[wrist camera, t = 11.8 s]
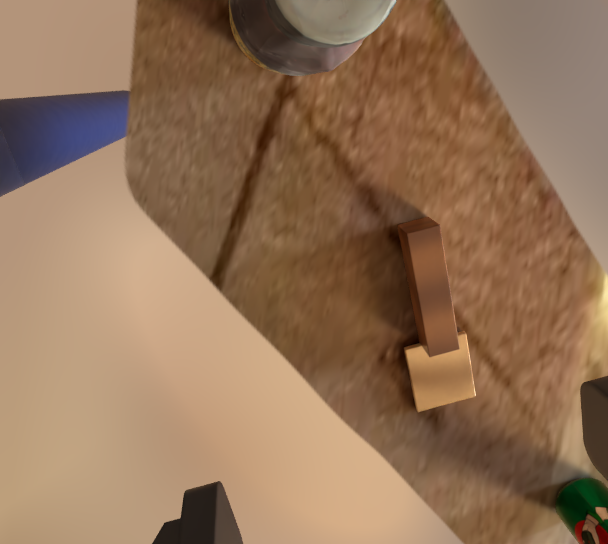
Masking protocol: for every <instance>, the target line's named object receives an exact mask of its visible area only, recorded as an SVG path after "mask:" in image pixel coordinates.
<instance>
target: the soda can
mask: <svg viewBox="0 0 608 544" xmlns="http://www.w3.org/2000/svg"><path fill="white" fill-rule="evenodd" d="M556 512H557V514H558V516H559V517H560V519H561V520H562V521H563V523H564V524H565V525H566V527H567V528H568V529H569V531H570V532H571V534H572V535H573V536H574V538H575V539H576V540H577V542H578V543H579V544H608V488H607V487H606V485H605V484H604V483H602V482H601V481H599V480H597V479H592V478H579V479H575V480H573V481H571V482H569V483H568V484H566V485H565V486H564V487H563V488H562V489H561V490H560V492H559V494H558V496H557V499H556Z"/></svg>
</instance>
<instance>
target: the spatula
mask: <svg viewBox="0 0 608 544" xmlns="http://www.w3.org/2000/svg"><path fill="white" fill-rule="evenodd" d="M397 228H398V233H399V238H400V243H401V249H402V254H403V259H404V264H405V270H406V275H407V280H408V286H409V291H410V296H411V301H412V307H413V312H414V317H415V322H416V328H417V333H418V338H419V343H418V344H414V345H411V346H407V347H404V352H405V357H406V362H407V367H408V372H409V377H410V382H411V387H412V391H413V396H414V401H415V406H416V410H417V412H420V411H424V410H428V409H431V408H435V407H438V406H442V405H446V404H449V403H453V402H456V401H460V400H464V399H467V398H471V397H474V396H476V395H475V388H474V382H473V375H472V369H471V362H470V356H469V349H468V343H467V336H466V333H465V332H464V331H462V332H458V333H457V329H456V322H455V316H454V310H453V304H452V297H451V291H450V285H449V279H448V272H447V266H446V260H445V254H444V247H443V241H442V235H441V229H440V225H439V224H438V223H436V222H435V221H434V220H432V219H431V218H429V217H425V218H421V219H417V220H413V221H410V222H406V223H402V224H399V225H397Z"/></svg>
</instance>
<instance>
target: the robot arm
mask: <svg viewBox="0 0 608 544" xmlns="http://www.w3.org/2000/svg"><path fill="white" fill-rule="evenodd" d="M580 394H581V409H582V425H583V439H584V445H585V448H586V451H587V454H588V456H589V458H590V460H591V461H592V463H593V465H594V466H595V467H596V469H597V470H598V471H599V472H600V473H601V474H602V475H603V476H604V477H605V478H606V480H607V481H608V376H606V377H602V378H598V379H595V380H591V381H587V382H584V383H583V384H582V385H581V390H580ZM152 544H243V541H242V537H241V534H240V531H239V528H238V526H237V523H236V520H235V517H234V514H233V512H232V509H231V506H230V503H229V501H228V498H227V495H226V492H225V490H224V487H223V485H222V483H221V482H220V481H218V482H214V483H211V484H207V485H204V486H200V487H196V488H193V489H189V490H186V491H185V493H184V498H183V505H182V512H181V518H180V519H177V520H173V521H169V522H166V523H164V525H163V527H162V528H161V530H160V531H159V533H158V535H157V536H156V538H155V540H154V542H153V543H152Z"/></svg>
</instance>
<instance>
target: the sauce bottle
mask: <svg viewBox="0 0 608 544" xmlns="http://www.w3.org/2000/svg"><path fill="white" fill-rule="evenodd" d="M228 2H229V16H230V25H231V29H232V32H233V35H234V38H235V40H236V42H237V44H238V46H239V48H240V49H241V50H242V52H243V53H244V54H245V56H246V57H248V58H249V59H250V60H251V61H252V62H254V63H255V64H257V65H258V66H260V67H262V68H264V69H267V70H270V71H274V72H278V73H281V74H286V75H291V76H304V75H310V74H316V73H321V72H328V71H332V70H333V69H334V68H336V67H337V66H338V65H340V64H341V63H342V62H344V61H345V60H347V59H348V58H349V57H350V56H351V55H352V54H353V53H354V52H355V51H356V50H357V49H358V47H359V46H360V45H361V44H362V42H363V40H364V39H365V37H367V36H368V35H370V34H371V33H372V32H374V31H375V30H376V29H377V28H378V27H379V26H380V25H381V24H382V23H383V22H384V20H385V19H386V18H387V17H388V15H389V13H390V12H391V10H392V9H393V7H394V5H395V4H396V0H229V1H228Z"/></svg>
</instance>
